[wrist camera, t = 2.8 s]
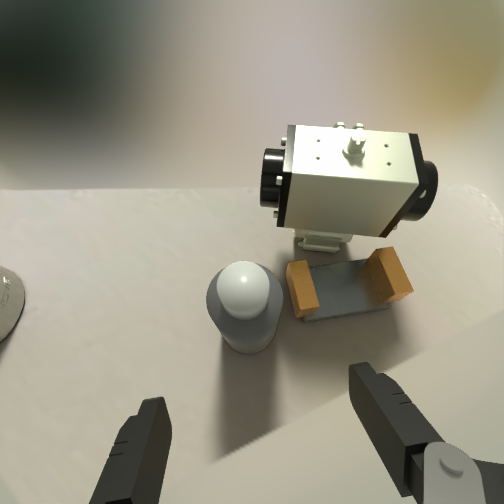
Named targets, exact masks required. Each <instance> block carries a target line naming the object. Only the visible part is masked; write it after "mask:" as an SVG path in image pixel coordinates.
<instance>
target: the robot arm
mask: <svg viewBox="0 0 504 504" xmlns="http://www.w3.org/2000/svg"><path fill="white" fill-rule="evenodd" d="M24 297H25V293H24V286H23V284H22V281H21V279H20V278H19V277H18V276H17V275H16V274H15V273H14V272H12V271H10V270H8V269H6V268H4V267H2V266H0V342H1V341H2V340H3V339H4V338H5V337H6V336H7V334H8V333H9V332H10V331H11V329H12V328H13V327H14V325H15V323H16V321H17V320H18V318H19V316H20V313H21V311H22V308H23V304H24ZM349 395H350V400H351V403H352V406H353V408H354V410H355V412H356V414H357V415H358V417H359V419H360V421H361V423H362V424H363V426H364V428H365V430H366V432H367V434H368V436H369V438H370V439H371V441H372V443H373V445H374V447H375V449H376V450H377V452H378V454H379V456H380V458H381V460H382V462H383V463H384V465H385V467H386V469H387V471H388V472H389V474H390V476H391V478H392V480H393V482H394V484H395V486H396V487H397V489H398V491H399V493H400V495H401V497H407V496H412V495H413V497H414V499H415V500H416V502H417V504H504V464H498V463H492V462H485V461H479V460H475V459H472V458H470V457H469V456H468V455H467V454H466V453H465V452H463V451H462V450H461V449H459V448H457V447H455V446H453V445H451V444H448V443H445V441H444V440H443V439H442V438H441V437H440V435H439V434H438V433H437V432H436V430H435V429H434V428H433V427H432V426H431V424H430V423H429V422H428V421H427V420H426V418H425V417H424V416H423V414H422V413H421V412H420V411H419V410H418V408H417V407H416V406H415V405H414V404H413V403H412V401H411V400H410V399H409V397H408V396H407V395H406V394H405V393H404V391H403V390H402V389H401V387H400V386H399V385H398V384H397V383H396V381H394V380H393V379H391V378H390V377H389V376H387V375H386V374H384V373H379V374H377V373H376V372H375V371H374V369H373V368H372V367H371V365H370V364H369V363H367V362H364V363H358V364H352V365H349ZM171 439H172V425H171V421H170V417H169V414H168V410H167V407H166V403H165V400H164V398H163V397H156V398H151V399H145V400H143V402H142V404H141V406H140V409H139V412H138V415H135V416H130V417H129V418H128V420H127V421H126V422H125V423H124V425H123V426H122V427H121V429H120V430H119V433H118V435H117V437H116V440H115V442H114V446H113V447H112V449H111V452H110V454H109V458H108V459H107V461H106V464H105V466H104V469H103V471H102V473H101V476H100V478H99V481H98V483H97V485H96V488H95V490H94V493H93V495H92V497H91V500H90V502H89V504H158V503H159V498H160V493H161V488H162V484H163V479H164V474H165V469H166V464H167V459H168V455H169V450H170V445H171Z"/></svg>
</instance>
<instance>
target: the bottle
mask: <svg viewBox="0 0 504 504" xmlns="http://www.w3.org/2000/svg"><path fill="white" fill-rule="evenodd" d="M206 303H207V309H208V312H209V315H210V317H211V318H212V320H213V322H214V323H215V325H216V326H217V328H218V329H219V331H220V332H221V334H222V335H223V337H224V339H225V340H226V342H227V343H228V344H229V346H230V347H231V348H233V349H234V350H236V351H238V352H240V353H244V354H254V353H257V352H260V351H262V350H263V349H265V348H266V347H267V346H268V345H269V344H270V342H271V341H272V339H273V337H274V334H275V330H276V327H277V323H278V320H279V317H280V313H281V310H282V306H283V291H282V287H281V285H280V282H279V281H278V279H277V277H276V276H275V275H274V274H273V273H272V272H271V271H270V270H269V269H267V268H266V267H264V266H262V265H259V264H256V263H253V262H249V261H238V262H235V263H232V264H230V265H229V266H227V267H225V268H224V269H222V270H221V271H220V272H218V274H217V275H216V276H215V277H214V278H213V280H212V281H211V283H210V285H209V288H208V291H207V297H206Z"/></svg>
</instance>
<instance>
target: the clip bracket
mask: <svg viewBox="0 0 504 504" xmlns="http://www.w3.org/2000/svg"><path fill="white" fill-rule="evenodd" d="M286 278H287V282H288V286H289V290H290V295H291V299H292V303H293V307H294V311H295V316H296V318H297V317H302V318H303V322H311V321H317V320H323V319H329V318H335V317H341V316H347V315H353V314H359V313H365V312H371V311H377V310H383V309H387V308H389V307H390V306H392V305H391V303H390V302H395V301H399V300H401V299H402V298H404V297H405V296H407V295H408V294H410V293H412V292H413V291H414V290H413V288H412V286H411V284H410V282H409V280H408V278H407V275H406V273H405V271H404V269H403V267H402V265H401V263H400V261H399V258H398V256H397V254H396V252H395V250H394V248H393V247H387V248H380V249H376V250H375V251H374V252H373V253H372V254H371V256H370V257H369V258H368V259H362V260H355V261H349V262H342V263H336V264H329V265H323V266H316V267H310V268H309V267H308V264H307V260H301V261H294V262H289V263H288V267H287V271H286Z"/></svg>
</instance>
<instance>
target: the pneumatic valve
mask: <svg viewBox="0 0 504 504" xmlns="http://www.w3.org/2000/svg"><path fill="white" fill-rule="evenodd" d="M281 145H282V146H285V145H286V146H285V149H284V150H282V149H269V148H267V149H265V153H264V158H263V166H262V175H261V187H260V206H261V207H271V208H278V211H274V215H273V218H277V217H278V218H277V227H284V228H294V237H299V238H303V241H300V242H298V245H299V247H302V248H303V249H305V250H314V251H323V252H333V253H336V251H339V250H340V245H339V244H340V242H348V243H349V242H350V241H351V239H352V236H353V235H363V236H373V237H383V238H386V237H387V236H388V234H389V233H390V232H391V231H392V230H396V229H397V224H398V222H399V221H400V220H406V221H417V220H419V219H421V218H422V217H423V216H424V215H425V214H426V213H427V212H428V210H429V209H430V207H431V205H432V203H433V201H434V199H435V196H436V192H437V187H438V172H437V169H436V166H435V165H434V164H433V163H432V162H430V161H424V160H423V156H422V151H421V147H420V143H419V139H418V135H417V134H411V133H397V132H382V131H368V130H364V127H363V124H360V123H358V124H356V125H355V126H354V127H353V128H352V129H345V125H344V123H342V122H338V123H336V124H335V126H334V127H333V128H326V127H313V126H298V125H297V126H296V125H288V130H287V137H286V138H282V139H281Z"/></svg>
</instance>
